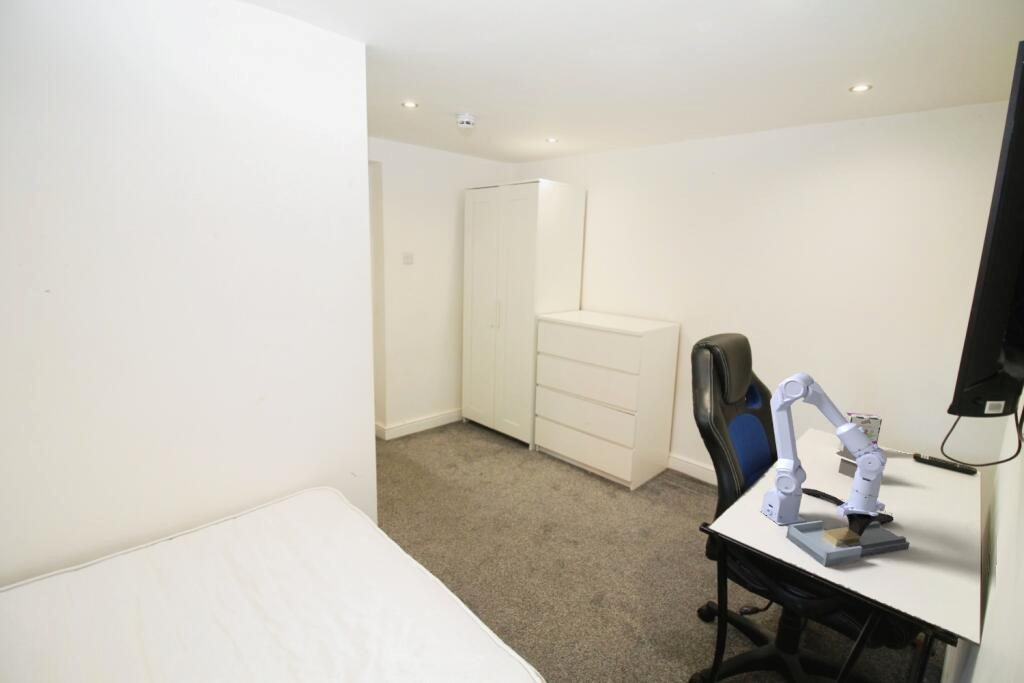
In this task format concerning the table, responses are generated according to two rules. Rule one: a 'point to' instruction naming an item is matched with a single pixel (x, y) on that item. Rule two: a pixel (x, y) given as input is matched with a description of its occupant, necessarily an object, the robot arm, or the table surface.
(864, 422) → the candy bar box
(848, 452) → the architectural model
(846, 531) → the cream square block
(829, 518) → the table surface
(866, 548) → the slotted bar
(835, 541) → the brass chip
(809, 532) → the tray
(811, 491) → the hairbrush
